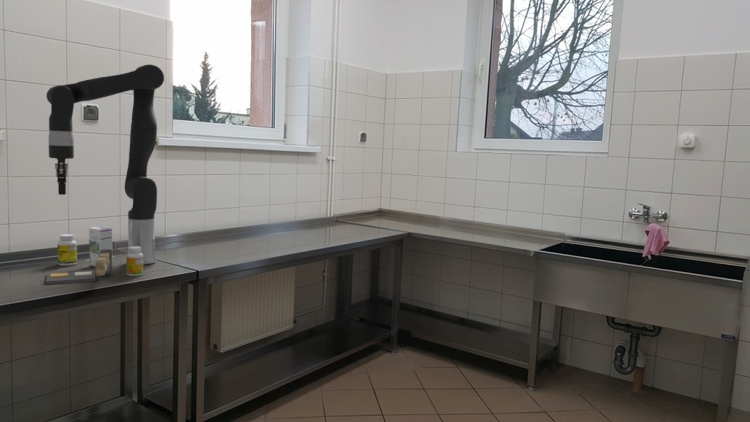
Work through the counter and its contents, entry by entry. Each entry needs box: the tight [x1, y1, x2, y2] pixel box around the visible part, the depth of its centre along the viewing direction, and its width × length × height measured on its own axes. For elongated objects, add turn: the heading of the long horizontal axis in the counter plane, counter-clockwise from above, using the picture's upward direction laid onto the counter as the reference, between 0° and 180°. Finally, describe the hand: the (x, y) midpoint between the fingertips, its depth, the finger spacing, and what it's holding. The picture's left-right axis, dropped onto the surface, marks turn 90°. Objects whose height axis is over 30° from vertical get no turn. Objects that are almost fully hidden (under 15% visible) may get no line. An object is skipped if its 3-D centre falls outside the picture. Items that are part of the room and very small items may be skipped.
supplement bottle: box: [126, 246, 144, 277], centre depth 190 cm, size 5×5×10 cm
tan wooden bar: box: [95, 249, 113, 277], centre depth 179 cm, size 21×4×5 cm, turn 21°
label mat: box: [45, 268, 96, 285], centre depth 182 cm, size 14×14×1 cm
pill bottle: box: [57, 233, 78, 267], centre depth 201 cm, size 6×6×11 cm
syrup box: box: [88, 225, 114, 268], centre depth 201 cm, size 6×6×14 cm
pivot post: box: [99, 264, 114, 278], centre depth 187 cm, size 4×4×4 cm
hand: (62, 194), depth 190 cm, fingers closed
